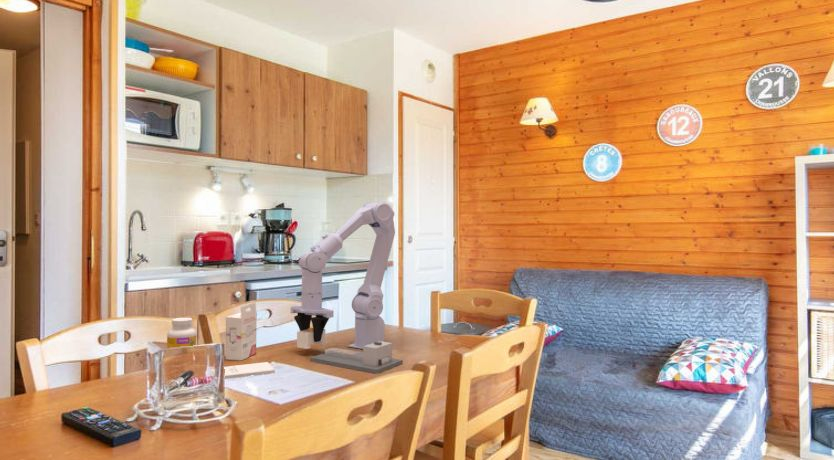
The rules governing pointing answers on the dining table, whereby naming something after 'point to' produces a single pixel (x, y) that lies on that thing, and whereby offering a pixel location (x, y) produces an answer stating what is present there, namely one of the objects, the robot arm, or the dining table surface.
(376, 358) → the module
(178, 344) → the supplement bottle
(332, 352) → the din rail
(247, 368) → the external hard drive
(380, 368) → the mounting board
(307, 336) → the din module
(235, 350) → the ink cartridge box
